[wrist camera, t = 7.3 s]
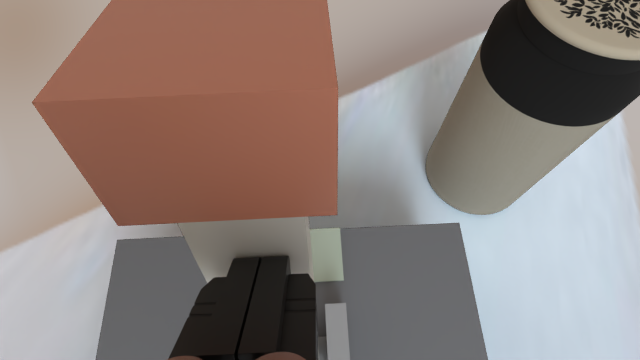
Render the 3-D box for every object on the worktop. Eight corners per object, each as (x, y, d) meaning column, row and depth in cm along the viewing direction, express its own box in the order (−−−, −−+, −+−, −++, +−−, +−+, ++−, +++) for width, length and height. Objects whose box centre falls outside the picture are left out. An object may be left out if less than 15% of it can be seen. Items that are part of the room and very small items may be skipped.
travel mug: (496, 235, 31) (690, 90, 14) (407, 183, 33) (489, 5, 16) (534, 161, 33) (735, -31, 17) (450, 117, 35) (557, -92, 19)
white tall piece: (237, 397, 17) (32, 102, 6) (245, 319, 20) (112, -2, 8) (336, 392, 17) (338, 87, 6) (331, 314, 20) (325, -12, 8)
